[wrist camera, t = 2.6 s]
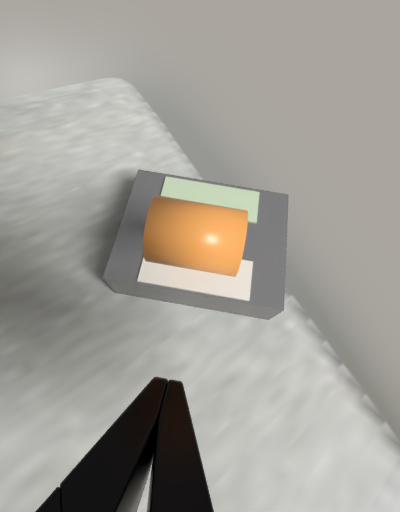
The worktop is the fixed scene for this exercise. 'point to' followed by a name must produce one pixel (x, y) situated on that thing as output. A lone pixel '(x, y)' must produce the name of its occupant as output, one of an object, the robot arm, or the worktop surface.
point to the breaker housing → (199, 282)
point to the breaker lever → (195, 235)
